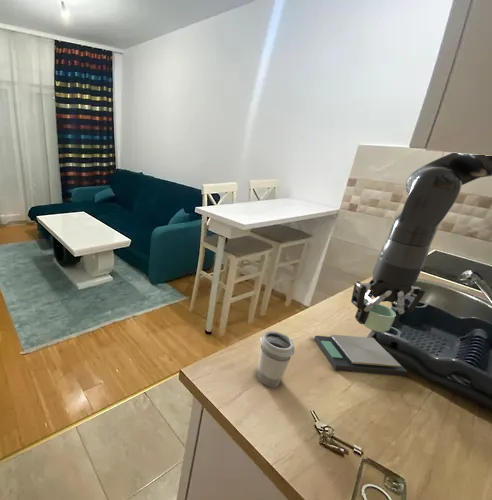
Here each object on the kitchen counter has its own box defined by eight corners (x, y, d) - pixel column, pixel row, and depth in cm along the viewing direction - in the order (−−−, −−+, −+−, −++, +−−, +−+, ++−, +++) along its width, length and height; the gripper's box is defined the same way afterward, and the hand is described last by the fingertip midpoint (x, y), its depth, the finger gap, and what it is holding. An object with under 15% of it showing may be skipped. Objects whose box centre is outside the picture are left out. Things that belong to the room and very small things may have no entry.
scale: (373, 347, 79) (377, 339, 78) (403, 379, 69) (408, 370, 68) (312, 342, 80) (315, 334, 79) (333, 373, 70) (337, 364, 69)
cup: (290, 388, 65) (303, 346, 61) (269, 398, 63) (280, 355, 58) (266, 366, 71) (276, 326, 67) (245, 374, 68) (254, 334, 64)
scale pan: (372, 339, 77) (373, 337, 77) (400, 367, 68) (401, 365, 68) (330, 336, 78) (330, 334, 78) (351, 363, 69) (352, 361, 69)
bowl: (377, 318, 72) (384, 303, 71) (395, 334, 67) (402, 318, 65) (352, 316, 73) (358, 301, 71) (368, 332, 67) (375, 316, 66)
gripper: (377, 265, 60) (352, 330, 67) (450, 269, 59) (418, 335, 66) (355, 251, 67) (335, 312, 74) (421, 255, 66) (394, 316, 73)
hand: (374, 323), depth 70 cm, fingers closed on bowl, 6 cm apart
